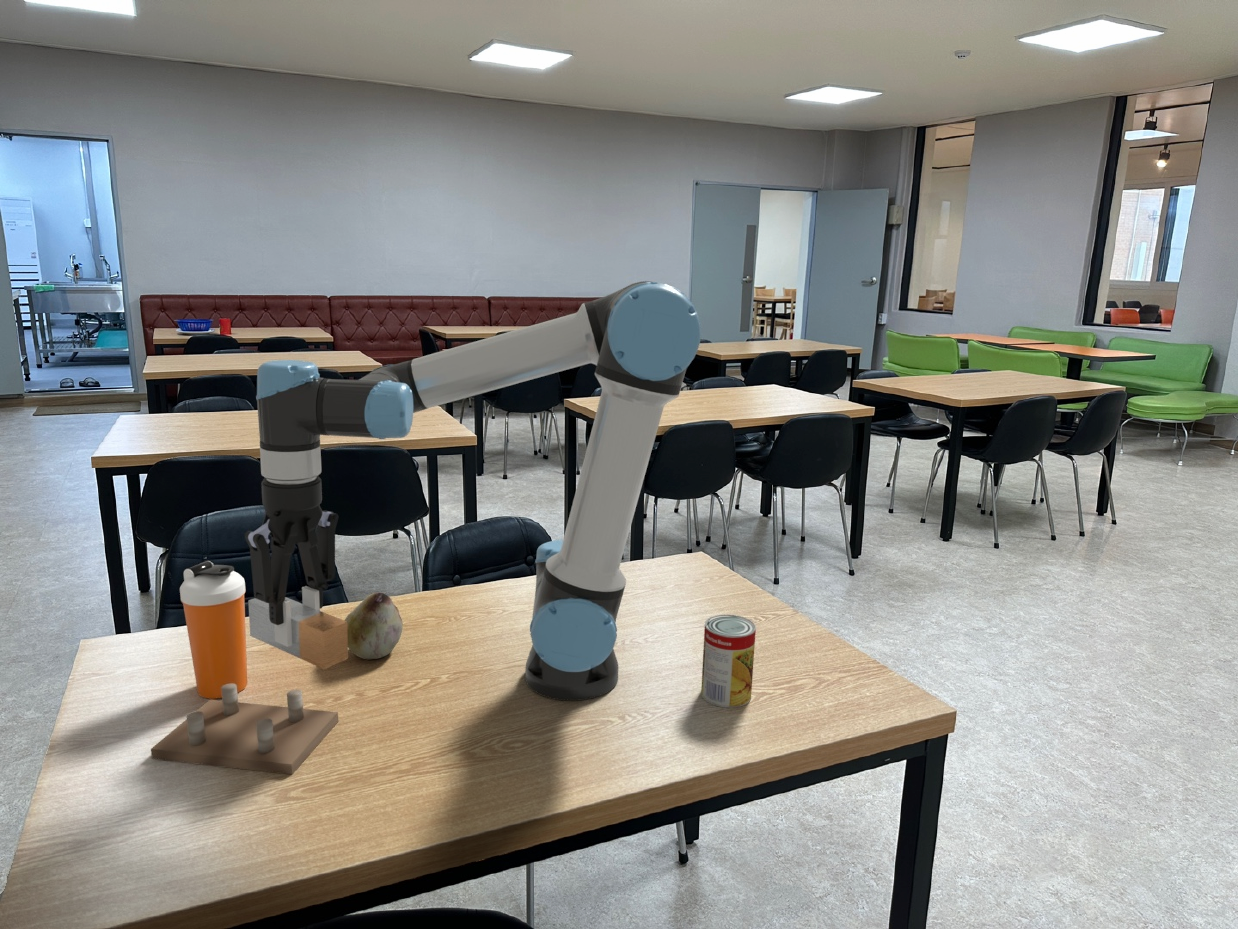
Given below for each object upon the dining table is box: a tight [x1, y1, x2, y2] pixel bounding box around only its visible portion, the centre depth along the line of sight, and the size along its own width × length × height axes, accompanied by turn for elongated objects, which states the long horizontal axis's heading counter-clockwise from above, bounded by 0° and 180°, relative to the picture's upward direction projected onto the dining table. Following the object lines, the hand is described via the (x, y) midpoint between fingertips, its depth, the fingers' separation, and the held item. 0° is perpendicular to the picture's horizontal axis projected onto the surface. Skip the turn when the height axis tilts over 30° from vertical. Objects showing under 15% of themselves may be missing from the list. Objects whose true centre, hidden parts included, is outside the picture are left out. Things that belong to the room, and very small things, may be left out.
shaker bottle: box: [179, 560, 248, 700], centre depth 127 cm, size 9×9×20 cm
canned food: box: [700, 614, 757, 709], centre depth 130 cm, size 8×8×12 cm
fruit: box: [343, 592, 404, 660], centre depth 140 cm, size 10×9×12 cm
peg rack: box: [150, 683, 339, 775], centre depth 115 cm, size 20×13×6 cm, turn 82°
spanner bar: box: [247, 596, 349, 670], centre depth 116 cm, size 16×4×6 cm, turn 58°
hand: (298, 637), depth 117 cm, fingers closed on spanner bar, 4 cm apart
